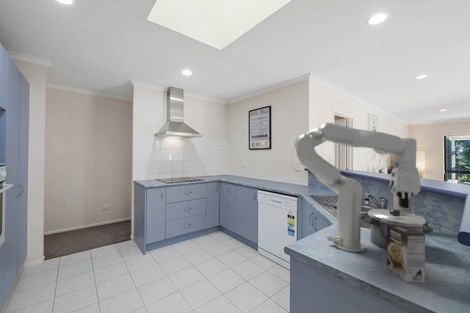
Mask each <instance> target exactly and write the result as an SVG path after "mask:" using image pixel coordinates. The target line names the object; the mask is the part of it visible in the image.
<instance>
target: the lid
mask: <svg viewBox="0 0 470 313" xmlns="http://www.w3.org/2000/svg"><path fill="white" fill-rule="evenodd" d="M367 212H368V213H367V214H368V216H369V217H370V216H371V217H373V218H376V219H379V220H382V221H386V222H391V223H397V224H405V225H423V224H425V223H426V222H427V221H426V218H425V217H423V216H421V215H418V214H416V213H412V212H411V213H407V212H402V211H400V210H396V209H394V208H389V209H386V208H372V209H369V210H368V211H367ZM371 217H370V218H371Z"/></svg>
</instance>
